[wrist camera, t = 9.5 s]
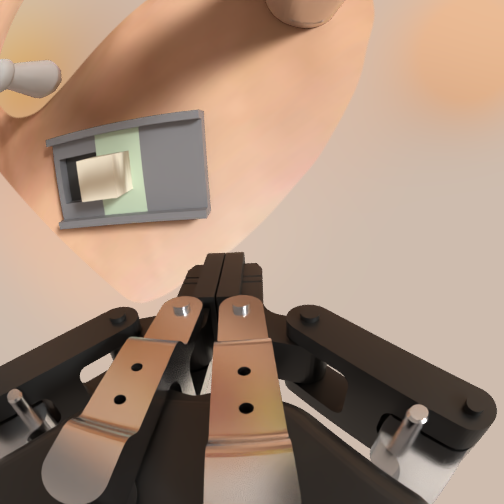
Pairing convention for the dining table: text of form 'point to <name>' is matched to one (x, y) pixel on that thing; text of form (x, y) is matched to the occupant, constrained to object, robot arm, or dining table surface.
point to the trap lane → (138, 170)
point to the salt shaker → (30, 77)
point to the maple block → (104, 176)
